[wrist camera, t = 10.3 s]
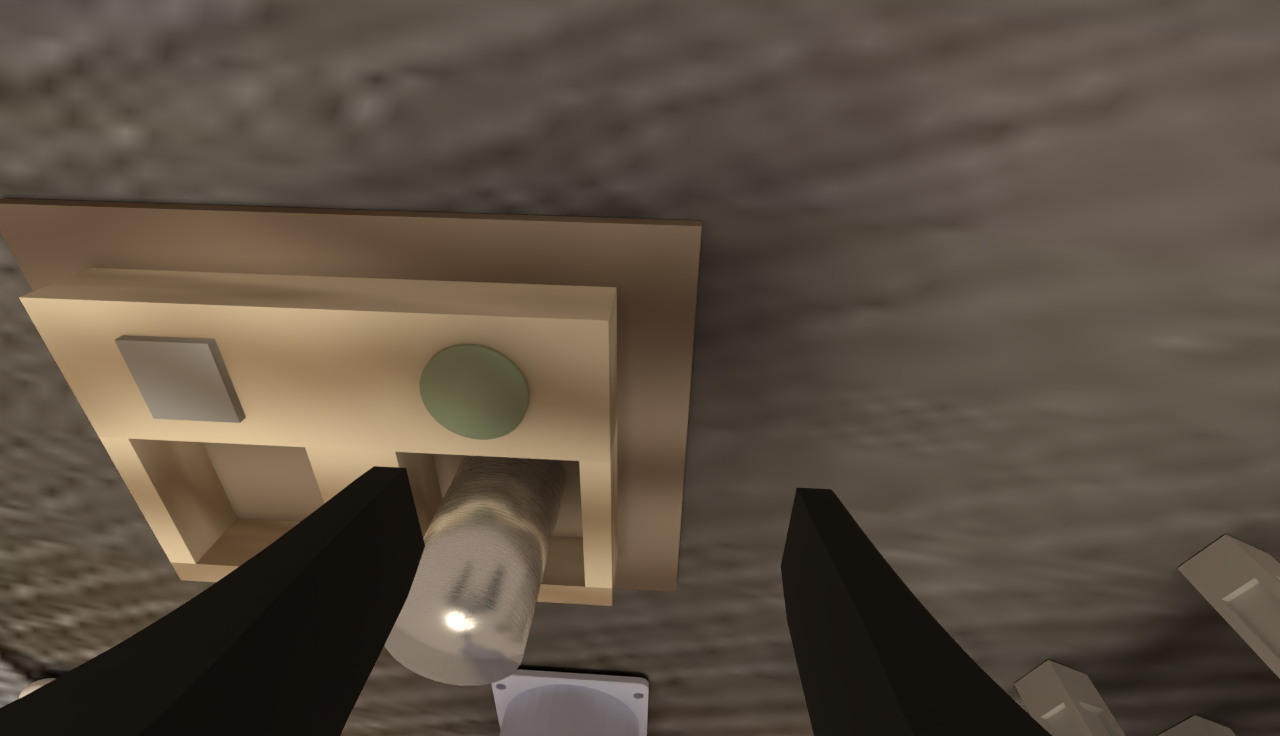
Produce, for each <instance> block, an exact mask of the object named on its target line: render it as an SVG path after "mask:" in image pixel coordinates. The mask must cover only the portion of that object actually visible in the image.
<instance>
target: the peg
mask: <svg viewBox="0 0 1280 736" xmlns="http://www.w3.org/2000/svg"><path fill="white" fill-rule="evenodd" d="M565 485H566V477H565V472H564V469H563V467H562V465H561V463H560V461H559V460H550V459H530V458H510V457H490V456H470V455H465V457H464V458H463V460H462V462H461V464H460V466H459V468H458V470H457V472H456V474H455V476H454V478H453V480H452V482H451V484H450V486H449V488H448V490H447V492H446V494H445V496H444V498H443V500H442V502H441V504H440V506H439V508H438V510H437V512H436V514H435V516H434V518H433V520H432V522H431V524H430V526H429V528H428V530H427V532H426V534H425V536H424V538H423V539H424V543H425V548H424V551H423V554H422V557H421V560H420V563H419V566H418V569H417V572H416V575H415V578H414V581H413V583H412V586H411V589H410V592H409V594H408V597H407V599H406V601H405V604H404V606H403V608H402V610H401V612H400V614H399V616H398V618H397V620H396V622H395V624H394V626H393V628H392V630H391V633H390V635H389V637H388V639H387V641H386V643H385V647H386V649H387V650H388V652H389V653H390V654H391V655H392V656H393V657H394V658H395V659H396V660H397V661H398V662H399V663H401V664H402V665H403V666H405V667H406V668H408V669H410V670H411V671H413V672H415V673H417V674H419V675H421V676H423V677H426V678H428V679H431V680H434V681H438V682H442V683H446V684H452V685H460V686H479V685H486V684H491V683H495V682H498V681H500V680H503V679H505V678H507V677H508V676H510V675H511V674H513V673H514V672H515V671H516V670H517V668H518V667H519V666H520V664H521V661H522V659H523V655H524V651H525V647H526V643H527V639H528V635H529V631H530V627H531V623H532V619H533V615H534V611H535V607H536V603H537V599H538V595H539V591H540V587H541V583H542V579H543V574H544V570H545V566H546V562H547V558H548V554H549V550H550V546H551V542H552V538H553V534H554V530H555V526H556V522H557V518H558V514H559V510H560V506H561V502H562V498H563V494H564V490H565Z"/></svg>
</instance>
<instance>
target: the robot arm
mask: <svg viewBox="0 0 1280 736" xmlns="http://www.w3.org/2000/svg"><path fill="white" fill-rule="evenodd" d="M424 548H425V543H424V539H423V535H422V531H421V527H420V523H419V519H418V515H417V511H416V507H415V502H414V498H413V494H412V490H411V486H410V482H409V478H408V474H407V470H406V468H399V467H379V466H374V467H372V468H371V469H370V470H368V471H367V472H365V473H364V474H363V475H361V476H360V477H358V478H357V479H356V480H354V481H353V482H352V483H351V484H349V485H348V486H347V487H345V488H344V489H343V490H341V491H340V492H339V493H337V494H336V495H335V496H334V497H332V498H331V499H330V500H328V501H327V502H326V503H324V504H323V505H322V506H321V507H319V508H318V509H317V510H315V511H314V512H313V513H311V514H310V515H309V516H307V517H306V518H305V519H304V520H302V521H301V522H300V523H298V524H297V525H296V526H294V527H293V528H292V529H290V530H289V531H288V532H286V533H285V534H284V535H282V536H281V537H280V538H278V539H277V540H276V541H274V542H273V543H272V544H270V545H269V546H268V547H266V548H265V549H263V550H262V551H260V552H259V553H258V554H256V555H255V556H253V557H252V558H250V559H249V560H248V561H246V562H245V563H243V564H242V565H240V566H239V567H238V568H236V569H235V570H233V571H232V572H230V573H229V574H228V575H226V576H225V577H223V578H222V579H221V580H219V581H218V582H216V583H215V584H213V585H212V586H211V587H209V588H208V589H206V590H205V591H203V592H202V593H200V594H199V595H197V596H196V597H194V598H193V599H191V600H190V601H188V602H186V603H185V604H183V605H182V606H180V607H179V608H177V609H175V610H174V611H172V612H171V613H169V614H168V615H166V616H164V617H163V618H161V619H159V620H158V621H156V622H154V623H153V624H151V625H150V626H148V627H146V628H145V629H143V630H141V631H140V632H138V633H136V634H135V635H133V636H132V637H130V638H128V639H126V640H125V641H123V642H121V643H120V644H118V645H116V646H115V647H113V648H111V649H109V650H107V651H106V652H104V653H102V654H100V655H98V656H97V657H95V658H93V659H91V660H89V661H87V662H86V663H84V664H82V665H80V666H78V667H77V668H75V669H73V670H71V671H69V672H67V673H66V674H64V675H62V676H60V677H58V678H57V679H55V680H53V681H51V682H49V683H47V684H46V685H44V686H42V687H40V688H38V689H36V690H35V691H33V692H31V693H29V694H27V695H25V696H23V697H21V698H20V699H18V700H16V701H14V702H12V703H10V704H8V705H6V706H4V707H2V708H0V736H340V735H341V732H342V730H343V728H344V726H345V724H346V721H347V719H348V717H349V715H350V713H351V711H352V709H353V707H354V705H355V703H356V701H357V699H358V697H359V695H360V693H361V691H362V689H363V687H364V685H365V683H366V681H367V679H368V677H369V675H370V673H371V671H372V669H373V667H374V665H375V663H376V661H377V659H378V657H379V655H380V653H381V651H382V649H383V647H384V645H385V643H386V641H387V639H388V637H389V635H390V633H391V630H392V628H393V626H394V624H395V622H396V620H397V618H398V616H399V614H400V612H401V610H402V608H403V606H404V604H405V601H406V599H407V597H408V594H409V592H410V589H411V586H412V583H413V581H414V578H415V575H416V572H417V569H418V566H419V563H420V560H421V557H422V554H423V551H424ZM781 571H782V580H783V590H784V598H785V606H786V614H787V622H788V626H789V630H790V635H791V639H792V644H793V648H794V652H795V657H796V661H797V665H798V669H799V674H800V678H801V682H802V686H803V691H804V695H805V699H806V703H807V707H808V712H809V716H810V720H811V724H812V729H813V733H814V736H1052V735H1051V734H1050V733H1049V732H1048V731H1047V730H1045V729H1044V728H1043V727H1042V726H1041V725H1040V724H1039V723H1038V722H1037V721H1036V720H1035V719H1033V718H1032V717H1031V716H1030V715H1029V714H1028V713H1027V712H1026V711H1025V710H1024V709H1022V708H1021V707H1020V706H1019V705H1018V704H1017V703H1016V702H1015V701H1014V700H1013V699H1012V698H1011V697H1010V696H1009V695H1008V694H1007V693H1006V692H1005V691H1004V690H1003V689H1002V688H1001V687H1000V686H999V685H998V684H997V683H996V682H995V681H993V680H992V679H991V678H990V677H989V676H988V675H987V674H986V673H985V672H984V671H983V670H982V669H981V668H980V667H979V666H978V665H977V664H976V663H975V662H974V661H973V659H972V658H971V657H970V656H969V655H968V654H967V653H966V652H965V651H964V650H963V649H962V648H961V647H960V646H959V645H958V644H957V643H956V642H955V641H954V639H953V638H952V637H951V636H950V635H949V634H948V633H947V632H946V631H945V629H944V628H943V627H942V626H941V625H940V624H939V623H938V622H937V621H936V620H935V618H934V617H933V616H932V615H931V614H930V613H929V612H928V611H927V609H926V608H925V607H924V606H923V605H922V604H921V603H920V601H919V600H918V599H917V598H916V597H915V596H914V594H913V593H912V592H911V591H910V589H909V588H908V587H907V586H906V585H905V583H904V582H903V581H902V580H901V579H900V577H899V576H898V575H897V574H896V573H895V571H894V570H893V569H892V568H891V567H890V565H889V564H888V563H887V562H886V560H885V559H884V558H883V557H882V555H881V554H880V553H879V551H878V550H877V549H876V548H875V546H874V545H873V544H872V542H871V541H870V540H869V538H868V537H867V536H866V535H865V533H864V532H863V531H862V529H861V528H860V527H859V525H858V524H857V523H856V521H855V520H854V519H853V517H852V516H851V515H850V513H849V512H848V511H847V509H846V508H845V507H844V505H843V504H842V502H841V501H840V500H839V498H838V497H837V496H836V494H835V493H834V492H833V491H832V490H831V489H812V488H797V489H796V494H795V499H794V504H793V509H792V514H791V519H790V524H789V529H788V534H787V539H786V544H785V548H784V553H783V558H782V563H781ZM491 685H492V690H493V695H494V700H495V705H496V710H497V715H498V720H499V725H500V734H499V736H647V719H648V695H649V683H648V681H647V680H646V679H644V678H641V677H629V676H614V675H598V674H583V673H568V672H552V671H537V670H522V669H517V670H516V671H515V672H514V673H513V674H511V675H510V676H508V677H507V678H505V679H503V680H500V681H498V682H495V683H491Z"/></svg>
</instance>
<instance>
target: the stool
mask: <svg viewBox="0 0 1280 736" xmlns="http://www.w3.org/2000/svg"><path fill="white" fill-rule="evenodd" d="M1177 569H1178V570H1179V571H1180V572H1181V573H1182V574H1183V575H1184V576H1185V577H1186V578H1187V579H1188V581H1189V582H1190V583H1191V584H1192V585H1193V586H1194V587H1195V588H1196V589H1197V590H1198V591H1199V592H1200V593H1201V595H1202V596H1203V597H1204V598H1205V599H1206V600H1207V601H1208V602H1209V603H1210V604H1211V605H1212V606H1213V607H1214V608H1215V610H1216V611H1217V612H1218V613H1219V614H1220V615H1221V616H1222V617H1223V618H1224V619H1225V620H1226V621H1227V622H1228V624H1229V625H1230V626H1231V627H1232V628H1233V629H1234V630H1235V631H1236V632H1237V633H1238V634H1239V635H1240V636H1241V638H1242V639H1243V640H1244V641H1245V642H1246V643H1247V644H1248V645H1249V646H1250V647H1251V648H1252V649H1253V650H1254V652H1255V653H1256V654H1257V655H1258V656H1259V657H1260V658H1261V659H1262V660H1263V661H1264V662H1265V663H1266V664H1267V666H1268V667H1269V668H1270V669H1271V670H1272V671H1273V672H1274V673H1275V674H1276V675H1277V676H1278V677H1279V678H1280V563H1279V562H1278V561H1277V560H1275V559H1274V558H1273V557H1272V556H1271V555H1270V554H1268V553H1266V552H1264V551H1262V550H1259V549H1257V548H1255V547H1253V546H1251V545H1248V544H1246V543H1244V542H1242V541H1240V540H1237V539H1235V538H1233V537H1231V536H1229V535H1226V534H1225V535H1224V536H1222V537H1221V538H1220V539H1218V540H1217V541H1215V542H1214V543H1212V544H1211V545H1210V546H1208V547H1207V548H1205V549H1204V550H1202V551H1201V552H1200V553H1198V554H1197V555H1195V556H1194V557H1193V558H1191V559H1190V560H1188V561H1187V562H1185V563H1184V564H1183V565H1181V566H1180V567H1178V568H1177ZM1014 685H1015V687H1016V689H1017V691H1018V693H1019V694H1020V696H1021V698H1022V700H1023V702H1024V704H1025V706H1026V708H1027V710H1028V712H1029V714H1030V716H1031V717H1032V718H1033V719H1035V720H1036V721H1037V722H1038V723H1039V724H1040V725H1041V726H1042V727H1043V728H1044V729H1045V730H1047V731H1048V732H1049V733H1050V734H1051V735H1052V736H1126V735H1125V734H1124V732H1123V731H1122V729H1121V727H1120V726H1119V724H1118V723H1117V721H1116V720H1115V718H1114V716H1113V715H1112V713H1111V712H1110V710H1109V709H1108V707H1107V705H1106V704H1105V702H1104V701H1103V699H1102V698H1101V696H1100V694H1099V693H1098V691H1097V690H1096V688H1095V687H1094V685H1093V683H1092V682H1091V680H1090V679H1089V677H1088V676H1087V674H1084V673H1081V672H1079V671H1076V670H1073V669H1071V668H1068V667H1066V666H1063V665H1060V664H1058V663H1055V662H1052V661H1050V660H1047V661H1046V662H1044V663H1043V664H1042V665H1040V666H1039V667H1037V668H1036V669H1034V670H1033V671H1032V672H1030V673H1029V674H1027V675H1026V676H1024V677H1023V678H1022V679H1020V680H1019V681H1017V682H1016V683H1014ZM1158 736H1236V735H1235V734H1234V733H1233V731H1232V730H1231V729H1230V728H1228V727H1225V726H1223V725H1220V724H1217V723H1215V722H1212V721H1210V720H1207V719H1204V718H1202V717H1199V716H1196V715H1194V716H1192V717H1191V718H1189V719H1187V720H1185V721H1183V722H1182V723H1180V724H1178V725H1176V726H1174V727H1173V728H1171V729H1169V730H1167V731H1165V732H1163V733H1162V734H1160V735H1158Z"/></svg>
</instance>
